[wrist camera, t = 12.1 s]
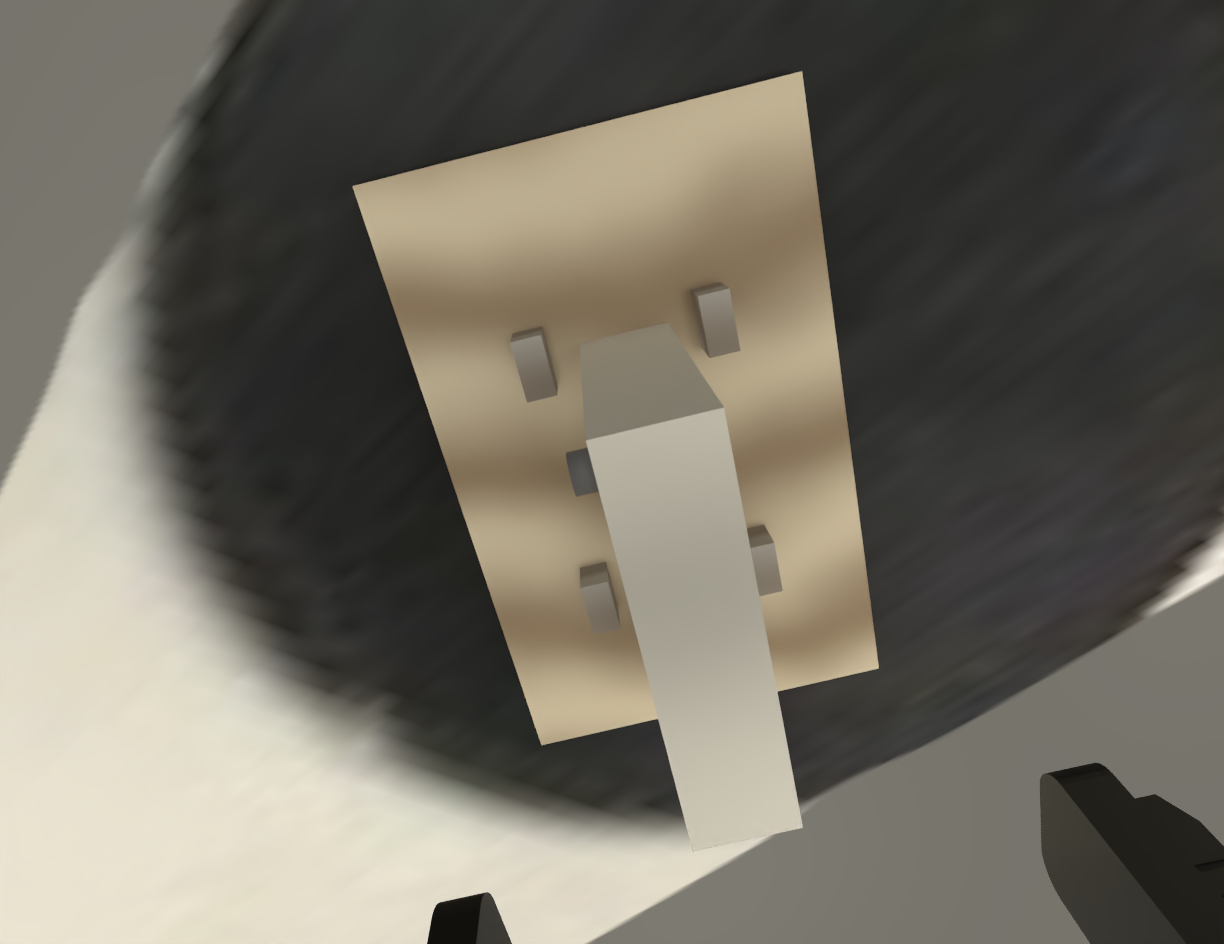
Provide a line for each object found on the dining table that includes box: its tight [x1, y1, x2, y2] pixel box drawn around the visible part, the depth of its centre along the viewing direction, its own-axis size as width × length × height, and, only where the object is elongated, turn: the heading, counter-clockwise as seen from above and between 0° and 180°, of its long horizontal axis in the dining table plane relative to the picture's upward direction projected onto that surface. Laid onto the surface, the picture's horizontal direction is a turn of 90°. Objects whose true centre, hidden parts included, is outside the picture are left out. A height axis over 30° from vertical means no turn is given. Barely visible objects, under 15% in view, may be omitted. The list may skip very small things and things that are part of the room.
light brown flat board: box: [352, 71, 879, 745], centre depth 27 cm, size 22×14×2 cm, turn 13°
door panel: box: [566, 323, 802, 852], centre depth 23 cm, size 12×4×10 cm, turn 13°
